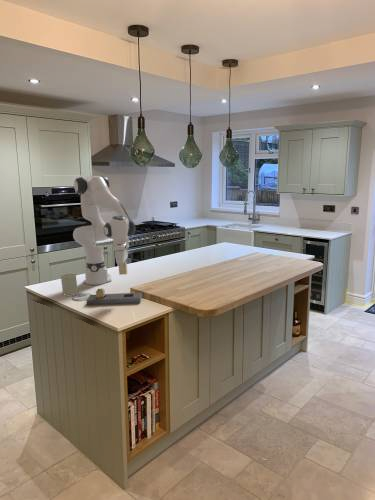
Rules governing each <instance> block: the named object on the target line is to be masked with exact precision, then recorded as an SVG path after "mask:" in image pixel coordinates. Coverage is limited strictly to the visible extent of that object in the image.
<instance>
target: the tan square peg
mask: <svg viewBox="0 0 375 500" xmlns="http://www.w3.org/2000/svg"><path fill="white" fill-rule="evenodd" d="M105 291H106V290H105V288H97V290H96V291H95V295H96V298H97V299H100V298H105V294H106V293H105Z"/></svg>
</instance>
